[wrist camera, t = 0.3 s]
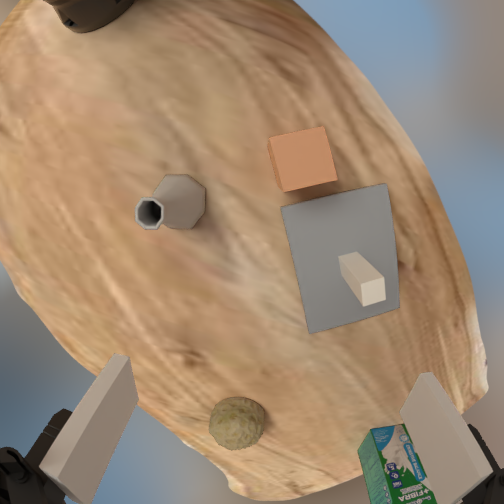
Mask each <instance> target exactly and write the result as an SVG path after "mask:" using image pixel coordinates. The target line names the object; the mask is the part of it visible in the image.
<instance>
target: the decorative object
mask: <svg viewBox="0 0 504 504" xmlns="http://www.w3.org/2000/svg"><path fill="white" fill-rule="evenodd" d="M263 431H264V410H263V409H262V408H261V407H260V405H259V404H257V403H256V402H254V401H252V400H250V399H247V398H244V397H231V398H227V399H224V400H222V401H221V402H219V403H218V404H217V405H215V408H214V410H213V411H212V413H211V418H210V423H209V433H210V434H211V435H212V436H213V437H214V438H215V440H216V442H217V443H218V445H221V446H223V447H225V448H226V449H229V450H237V449H238V450H240V449H243V448H244V449H245V448H246V447H250V446H252V445H254V444H256V443H257V442H258V440H259V439H260V437H261V435H262V434H263Z"/></svg>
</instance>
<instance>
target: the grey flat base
mask: <svg viewBox="0 0 504 504" xmlns="http://www.w3.org/2000/svg"><path fill="white" fill-rule="evenodd" d="M280 208H281V212H282V216H283V220H284V224H285V228H286V232H287V237H288V241H289V245H290V249H291V253H292V258H293V262H294V266H295V270H296V275H297V279H298V284H299V288H300V293H301V297H302V302H303V307H304V311H305V316H306V321H307V325H308V330H309V334H311V333H315V332H319V331H323V330H327V329H331V328H334V327H338V326H342V325H345V324H349V323H352V322H356V321H359V320H363V319H366V318H369V317H373V316H376V315H379V314H382V313H385V312H388V311H392V310H395V309H398V308H400V302H399V280H398V265H397V253H396V243H395V235H394V227H393V219H392V212H391V206H390V199H389V193H388V188H387V184H385V183H382V184H378V185H373V186H368V187H363V188H359V189H354V190H350V191H345V192H341V193H336V194H332V195H328V196H323V197H319V198H315V199H310V200H306V201H302V202H298V203H294V204H290V205H286V206H282V207H280Z"/></svg>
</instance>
